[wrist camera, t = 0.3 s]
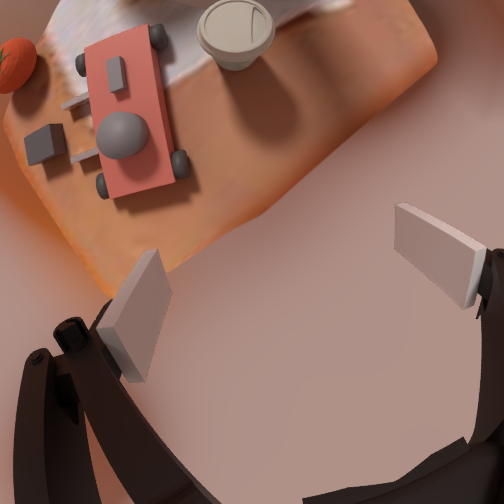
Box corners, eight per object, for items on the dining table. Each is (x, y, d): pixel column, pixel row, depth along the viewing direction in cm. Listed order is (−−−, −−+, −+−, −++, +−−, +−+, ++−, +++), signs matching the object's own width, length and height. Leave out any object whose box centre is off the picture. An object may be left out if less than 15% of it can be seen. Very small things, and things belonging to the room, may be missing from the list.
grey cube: (37, 136, 34) (24, 137, 30) (62, 123, 34) (49, 123, 30) (42, 162, 36) (29, 166, 32) (67, 151, 36) (54, 154, 32)
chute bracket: (69, 105, 33) (61, 104, 30) (99, 91, 32) (92, 89, 30) (79, 161, 36) (71, 163, 34) (109, 150, 36) (103, 151, 34)
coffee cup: (243, 90, 35) (247, 71, 24) (193, 62, 32) (178, 35, 21) (276, 47, 32) (293, 17, 21) (227, 20, 30) (226, -17, 19)
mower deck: (86, 58, 30) (61, 47, 22) (165, 29, 30) (151, 8, 22) (110, 196, 39) (88, 209, 32) (191, 175, 39) (182, 184, 32)
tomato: (34, 34, 25) (2, 23, 16) (55, 58, 28) (21, 48, 19) (3, 78, 27) (-31, 75, 18) (22, 104, 31) (-15, 105, 21)
